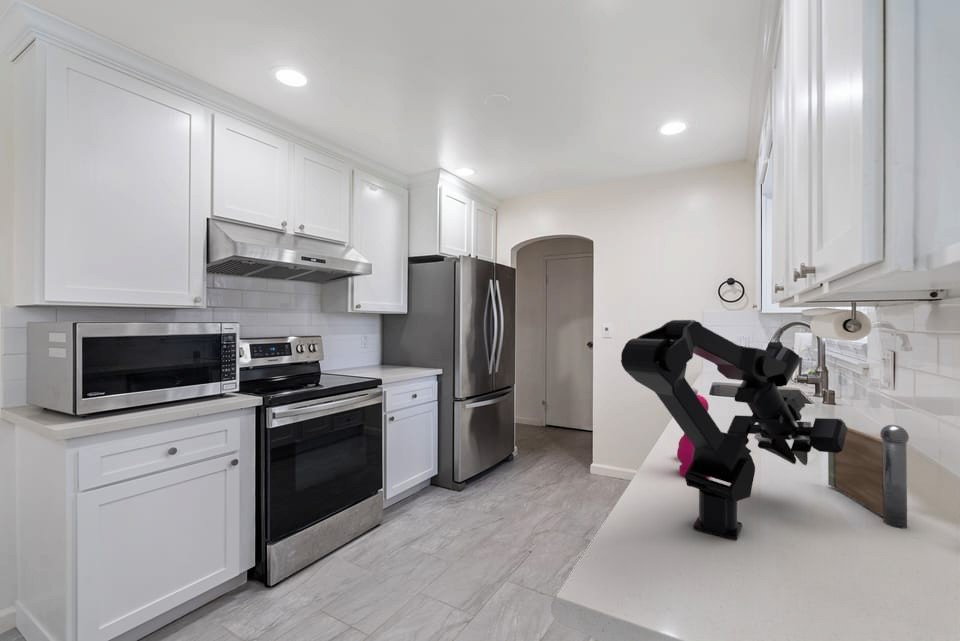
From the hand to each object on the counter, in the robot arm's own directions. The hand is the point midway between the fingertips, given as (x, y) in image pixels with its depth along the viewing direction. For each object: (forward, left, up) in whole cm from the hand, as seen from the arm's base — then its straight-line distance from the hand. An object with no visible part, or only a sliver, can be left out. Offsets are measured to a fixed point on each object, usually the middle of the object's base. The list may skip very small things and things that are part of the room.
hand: (800, 462), depth 86 cm
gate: (+7, -9, -7) cm, 13 cm away
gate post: (-2, -13, -8) cm, 15 cm away
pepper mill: (+4, +20, -8) cm, 22 cm away
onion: (+15, +23, -8) cm, 28 cm away
